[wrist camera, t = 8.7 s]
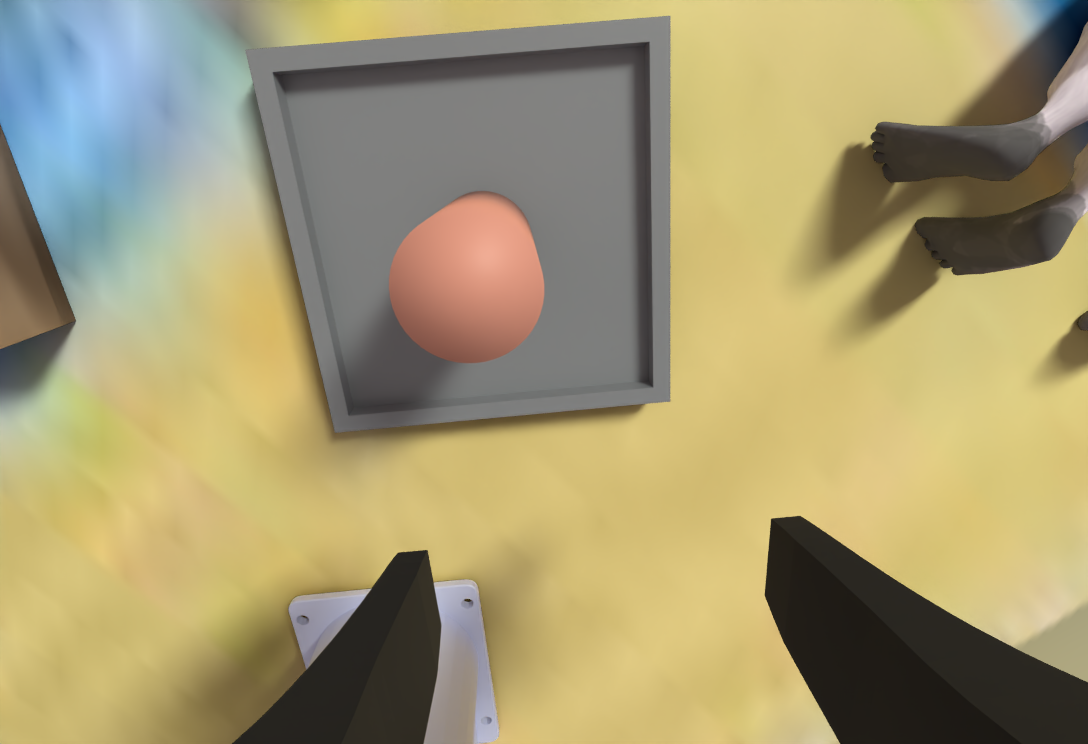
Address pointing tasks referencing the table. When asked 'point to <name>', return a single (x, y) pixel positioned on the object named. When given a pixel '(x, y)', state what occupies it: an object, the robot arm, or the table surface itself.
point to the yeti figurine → (997, 178)
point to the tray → (480, 165)
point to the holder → (25, 264)
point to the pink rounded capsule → (469, 280)
